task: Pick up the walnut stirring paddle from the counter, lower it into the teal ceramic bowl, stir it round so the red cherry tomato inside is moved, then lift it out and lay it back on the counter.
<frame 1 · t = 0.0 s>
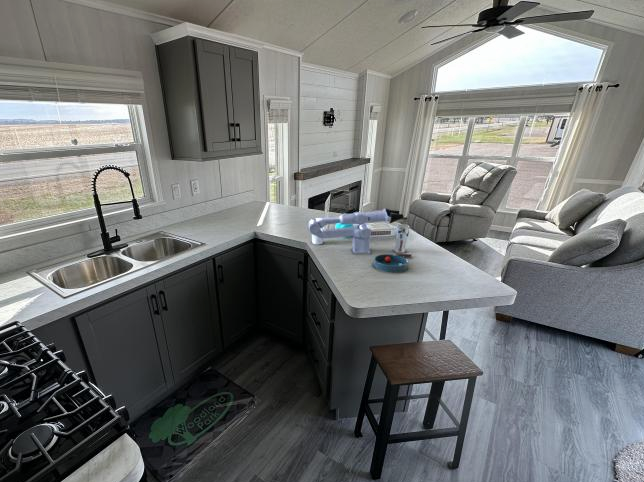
hand: (401, 214, 179), 22 cm above the countertop, tool horizontal, fingers open, 7 cm apart
paddle: (402, 258, 179), on the countertop
white cup: (317, 243, 205), on the countertop
bowl: (389, 266, 168), on the countertop
tomato: (387, 262, 173), resting on bowl
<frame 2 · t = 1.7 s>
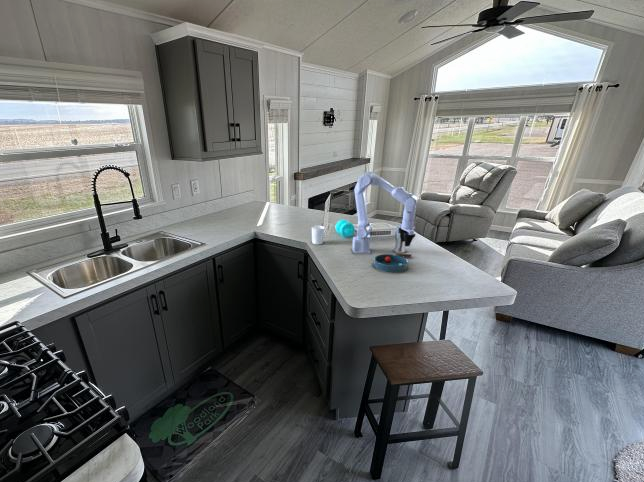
hand: (405, 243, 175), 8 cm above the countertop, tool pointing down, fingers open, 7 cm apart
nothing on the countertop moved.
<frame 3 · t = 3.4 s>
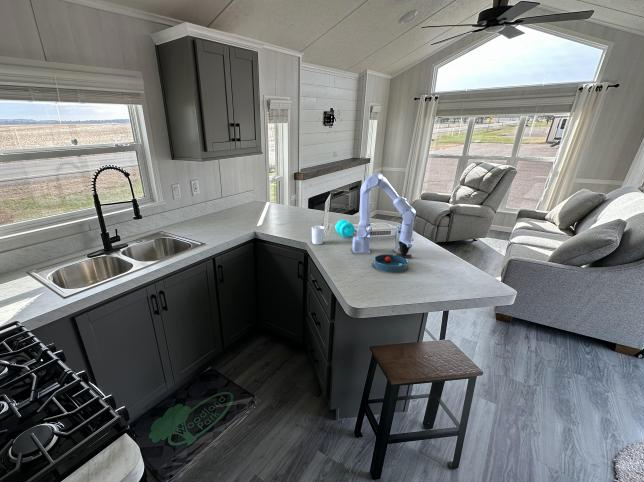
hand: (403, 255, 178), 2 cm above the countertop, tool pointing down, fingers closed on paddle, 2 cm apart
paddle: (402, 257, 179), on the countertop, touching gripper
everything else where it was.
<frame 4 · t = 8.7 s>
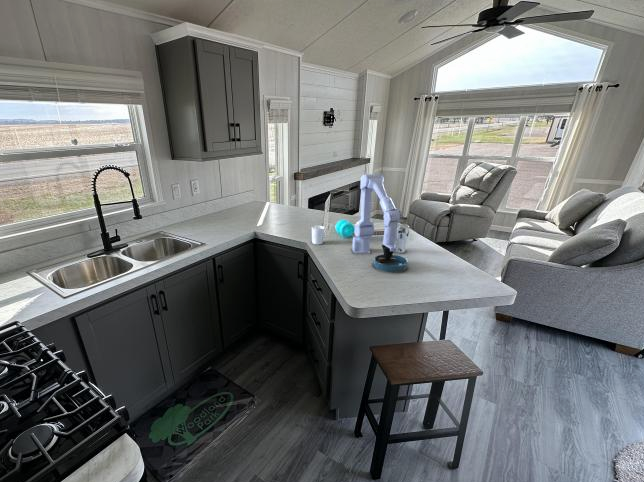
hand: (386, 259, 167), 4 cm above the countertop, tool pointing down, fingers closed on paddle, 2 cm apart
paddle: (386, 262, 167), point 2 cm above the countertop, touching gripper
everything else where it was.
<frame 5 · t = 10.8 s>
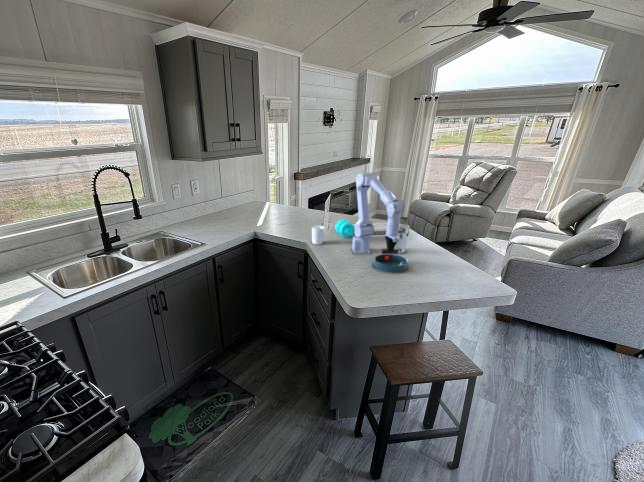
hand: (389, 250, 169), 7 cm above the countertop, tool pointing down, fingers closed on paddle
paddle: (389, 253, 169), point 6 cm above the countertop, touching gripper
tomato: (387, 261, 173), point 1 cm above the countertop, tilted 43°, touching bowl
everything else where it was.
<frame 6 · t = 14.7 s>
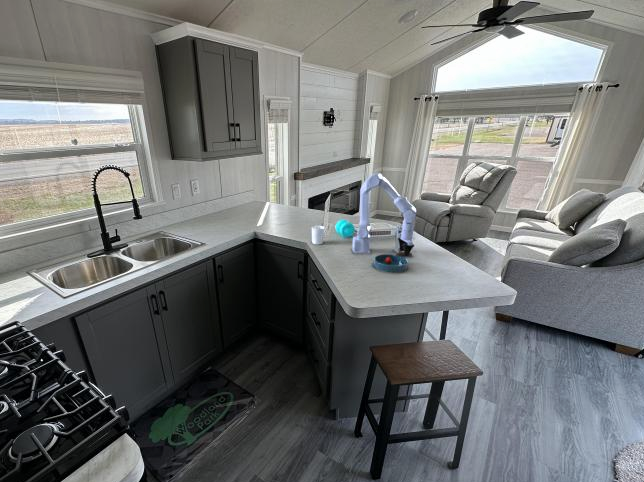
hand: (404, 253, 180), 2 cm above the countertop, tool pointing down, fingers open, 7 cm apart
paddle: (403, 256, 180), on the countertop
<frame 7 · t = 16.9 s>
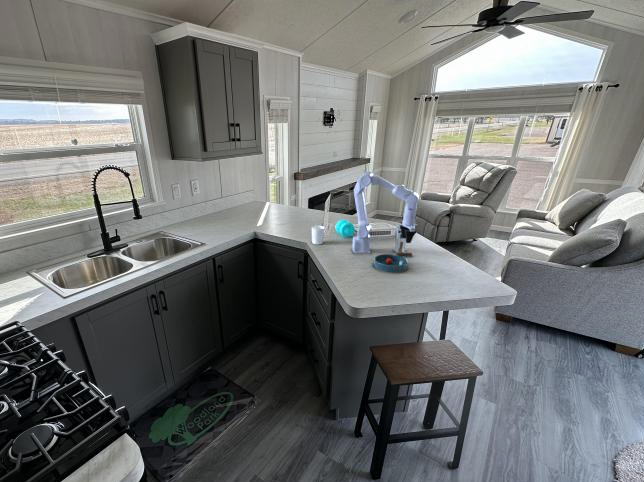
hand: (406, 240, 177), 9 cm above the countertop, tool pointing down, fingers open, 7 cm apart
tomato: (388, 260, 171), point 2 cm above the countertop, tilted 87°, touching bowl
everything else where it was.
at the end: tomato moved 1.7 cm from its start; tomato inside the target area in the bowl (4.0 cm from its centre), point 2.0 cm above the bowl's base; paddle inside the target area (0.0 cm from its centre), on the countertop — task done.
